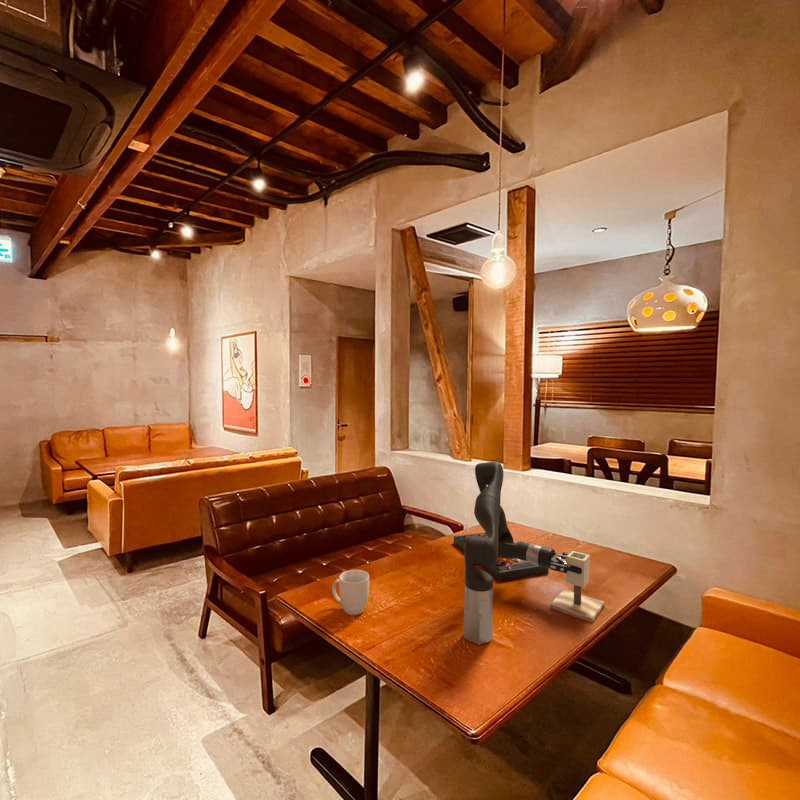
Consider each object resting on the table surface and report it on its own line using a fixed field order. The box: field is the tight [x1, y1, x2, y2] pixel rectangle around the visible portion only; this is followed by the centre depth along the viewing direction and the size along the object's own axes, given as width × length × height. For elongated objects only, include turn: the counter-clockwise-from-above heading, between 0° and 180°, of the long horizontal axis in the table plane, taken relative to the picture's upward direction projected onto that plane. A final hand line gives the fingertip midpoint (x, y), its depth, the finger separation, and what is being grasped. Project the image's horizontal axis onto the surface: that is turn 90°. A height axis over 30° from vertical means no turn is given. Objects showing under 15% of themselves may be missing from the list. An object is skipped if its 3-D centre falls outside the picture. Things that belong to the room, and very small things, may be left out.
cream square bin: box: [565, 550, 591, 588], centre depth 162 cm, size 6×6×10 cm
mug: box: [331, 569, 370, 616], centre depth 160 cm, size 15×11×13 cm
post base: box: [549, 585, 605, 623], centre depth 162 cm, size 15×15×8 cm
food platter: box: [453, 531, 550, 582], centre depth 208 cm, size 45×25×10 cm, turn 18°
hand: (584, 567), depth 160 cm, fingers closed on cream square bin, 6 cm apart
